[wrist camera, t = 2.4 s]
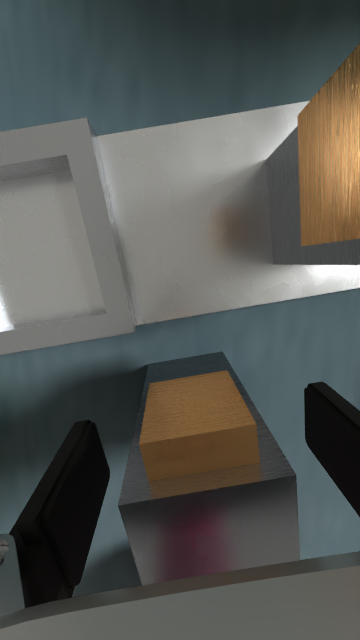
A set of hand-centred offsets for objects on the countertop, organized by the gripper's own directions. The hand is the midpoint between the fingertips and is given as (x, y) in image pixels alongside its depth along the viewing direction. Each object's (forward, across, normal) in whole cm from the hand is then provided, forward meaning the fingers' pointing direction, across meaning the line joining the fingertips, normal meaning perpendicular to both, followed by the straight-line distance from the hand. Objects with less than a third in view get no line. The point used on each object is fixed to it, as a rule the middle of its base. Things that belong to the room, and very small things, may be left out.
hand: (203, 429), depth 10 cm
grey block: (+4, 0, 0) cm, 4 cm away
